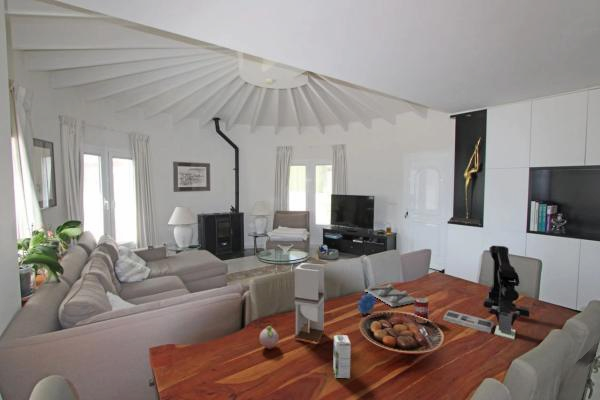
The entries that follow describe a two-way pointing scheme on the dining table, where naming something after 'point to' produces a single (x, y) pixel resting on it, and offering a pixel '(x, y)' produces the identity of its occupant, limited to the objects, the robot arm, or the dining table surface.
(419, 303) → the soda can
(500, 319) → the steel block
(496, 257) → the robot arm
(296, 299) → the white dispenser tower
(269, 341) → the decorative fruit
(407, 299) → the grey ridged tray
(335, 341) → the syrup box
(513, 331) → the sage pad
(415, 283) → the dining table surface
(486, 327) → the rail plate
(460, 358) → the dining table surface
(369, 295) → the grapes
